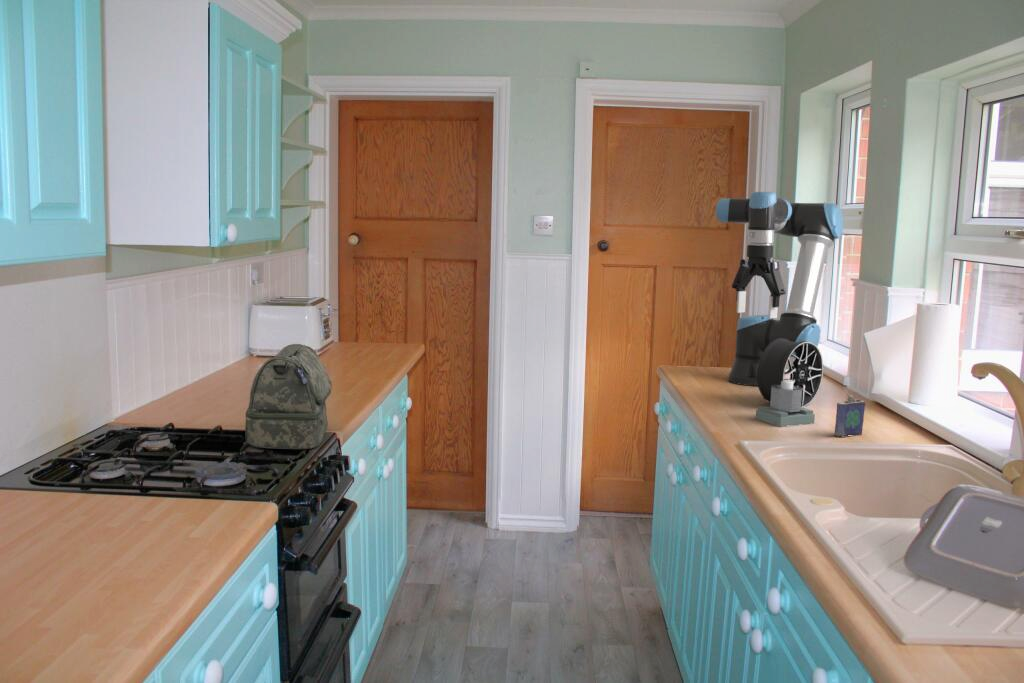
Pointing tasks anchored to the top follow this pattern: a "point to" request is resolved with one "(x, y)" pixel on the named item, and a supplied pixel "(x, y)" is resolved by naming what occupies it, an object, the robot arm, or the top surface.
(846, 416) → the flask
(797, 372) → the wheel rim
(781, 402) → the block
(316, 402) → the lunch bag
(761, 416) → the shaft block
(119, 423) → the top surface
